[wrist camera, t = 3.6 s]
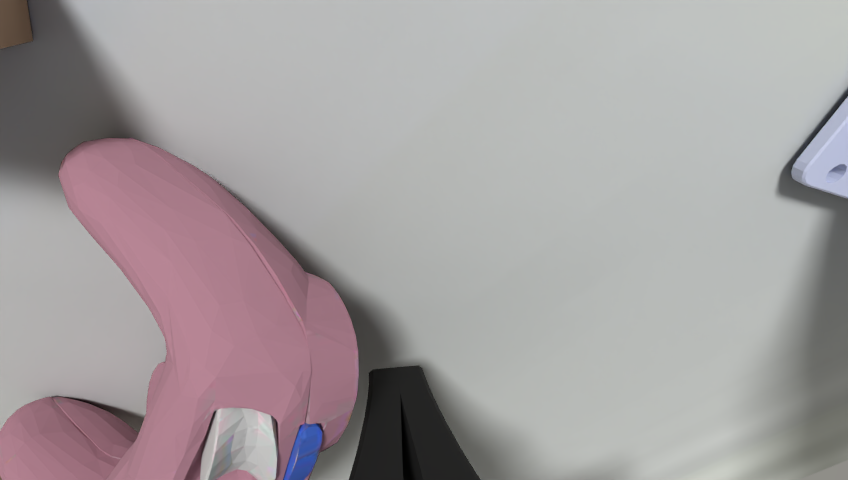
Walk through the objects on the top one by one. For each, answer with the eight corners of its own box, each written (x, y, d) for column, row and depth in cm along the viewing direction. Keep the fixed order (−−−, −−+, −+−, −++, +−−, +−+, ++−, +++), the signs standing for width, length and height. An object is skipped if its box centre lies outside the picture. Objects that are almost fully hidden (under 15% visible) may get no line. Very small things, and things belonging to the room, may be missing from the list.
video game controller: (182, 392, 14) (234, 630, 11) (-6, 422, 11) (-32, 786, 7) (301, 158, 11) (453, 398, 7) (66, 94, 7) (96, 504, 3)
